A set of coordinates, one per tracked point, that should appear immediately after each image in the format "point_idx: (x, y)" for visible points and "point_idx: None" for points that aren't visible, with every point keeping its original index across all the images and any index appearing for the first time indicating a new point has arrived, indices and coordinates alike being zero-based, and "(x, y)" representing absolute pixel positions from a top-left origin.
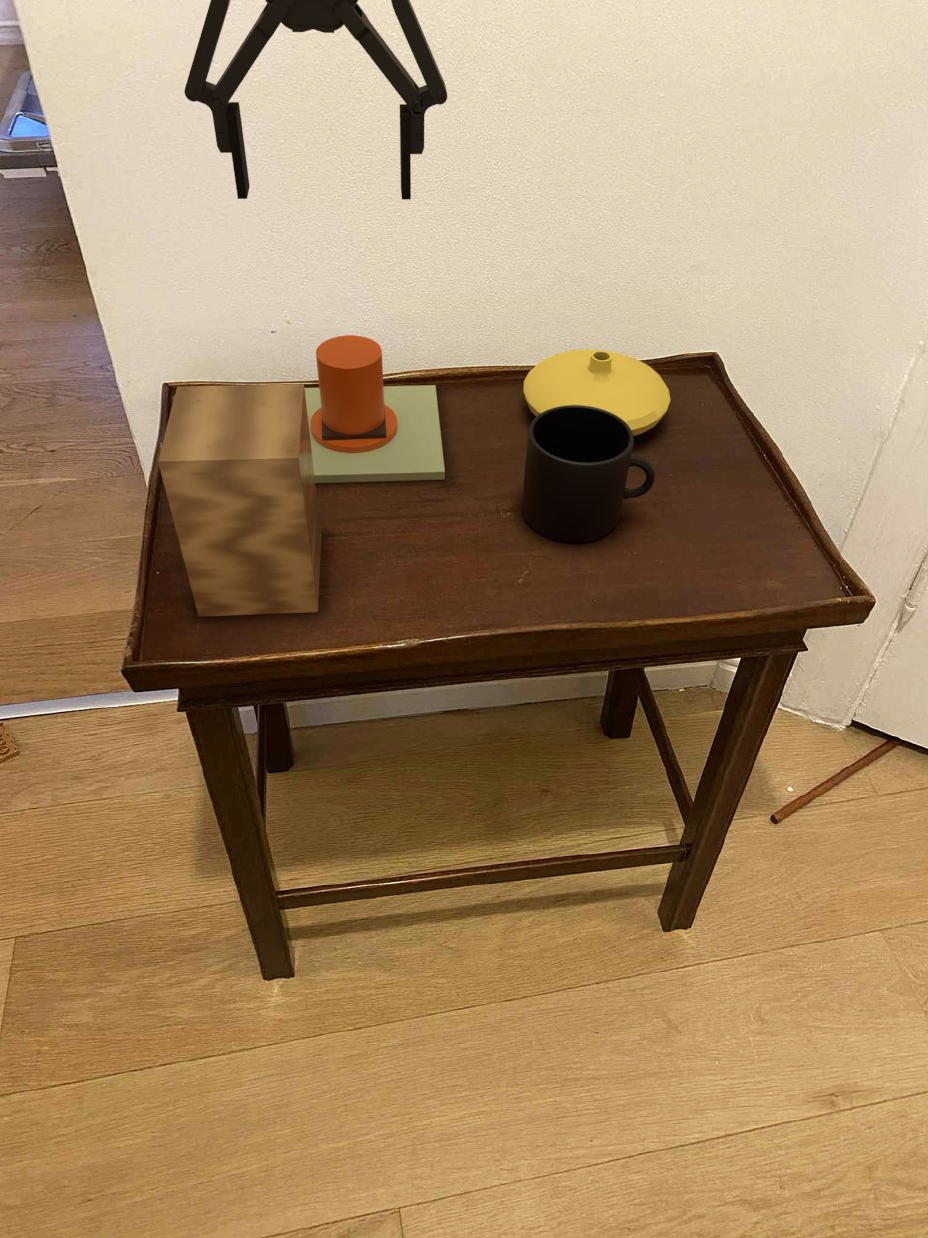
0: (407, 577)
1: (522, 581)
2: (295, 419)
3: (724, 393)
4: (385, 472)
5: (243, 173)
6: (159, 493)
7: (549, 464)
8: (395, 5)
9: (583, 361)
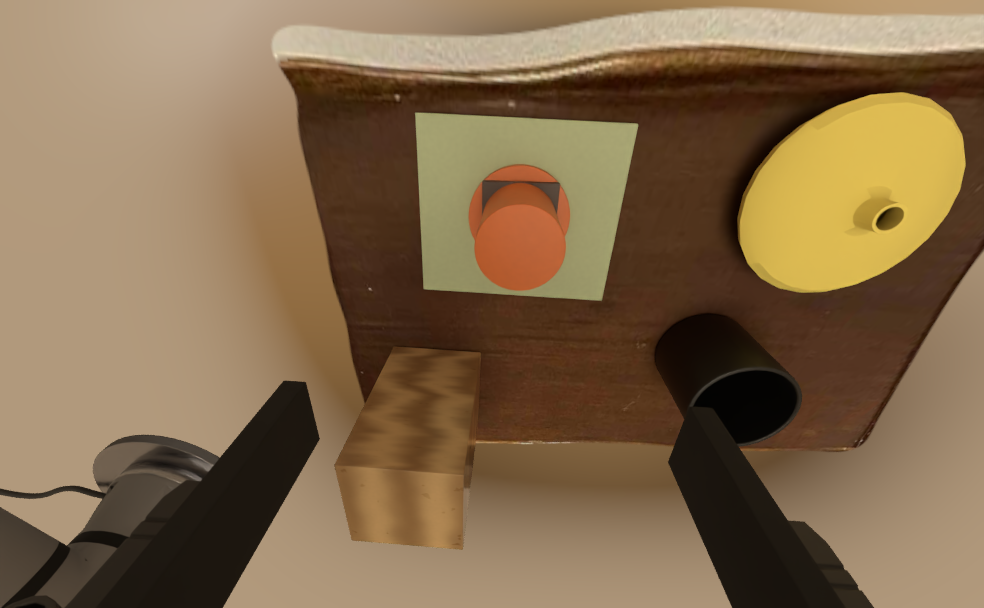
0: (543, 396)
1: (626, 409)
2: (457, 515)
3: None
4: (543, 295)
5: (291, 486)
6: (334, 286)
7: None
8: None
9: (867, 172)
